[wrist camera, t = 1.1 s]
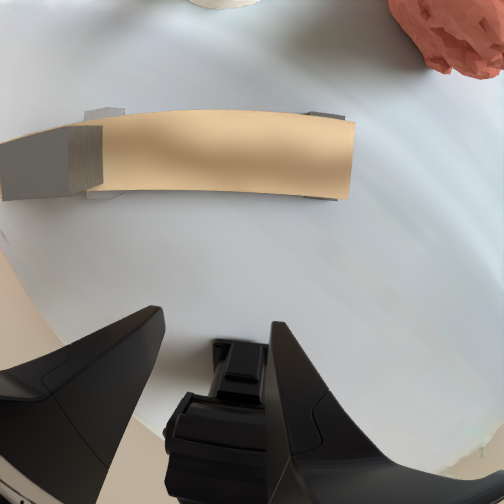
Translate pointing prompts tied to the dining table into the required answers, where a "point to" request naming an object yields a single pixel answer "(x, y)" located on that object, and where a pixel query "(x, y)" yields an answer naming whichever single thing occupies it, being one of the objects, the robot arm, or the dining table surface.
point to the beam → (226, 152)
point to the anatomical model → (455, 34)
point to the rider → (52, 163)
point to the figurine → (223, 3)
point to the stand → (115, 112)
